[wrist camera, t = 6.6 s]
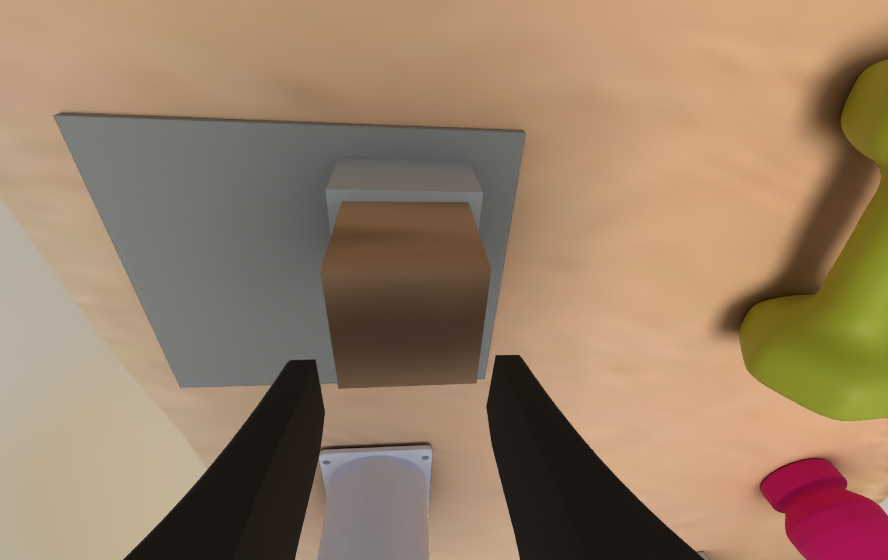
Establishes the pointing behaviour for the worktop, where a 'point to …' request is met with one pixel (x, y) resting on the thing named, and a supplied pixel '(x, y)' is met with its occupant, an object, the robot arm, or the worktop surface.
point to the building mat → (255, 227)
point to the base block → (402, 183)
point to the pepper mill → (826, 513)
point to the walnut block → (405, 293)
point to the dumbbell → (837, 297)
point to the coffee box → (703, 555)
